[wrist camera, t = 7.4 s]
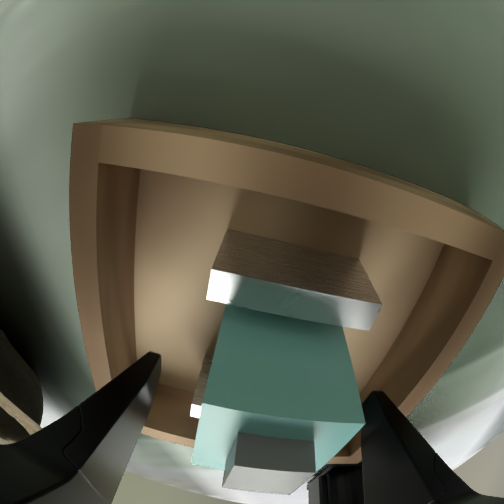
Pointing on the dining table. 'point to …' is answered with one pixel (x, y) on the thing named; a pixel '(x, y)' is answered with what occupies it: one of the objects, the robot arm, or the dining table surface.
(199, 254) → the walled box
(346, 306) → the socket
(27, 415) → the stone bowl
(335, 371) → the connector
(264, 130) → the dining table surface
